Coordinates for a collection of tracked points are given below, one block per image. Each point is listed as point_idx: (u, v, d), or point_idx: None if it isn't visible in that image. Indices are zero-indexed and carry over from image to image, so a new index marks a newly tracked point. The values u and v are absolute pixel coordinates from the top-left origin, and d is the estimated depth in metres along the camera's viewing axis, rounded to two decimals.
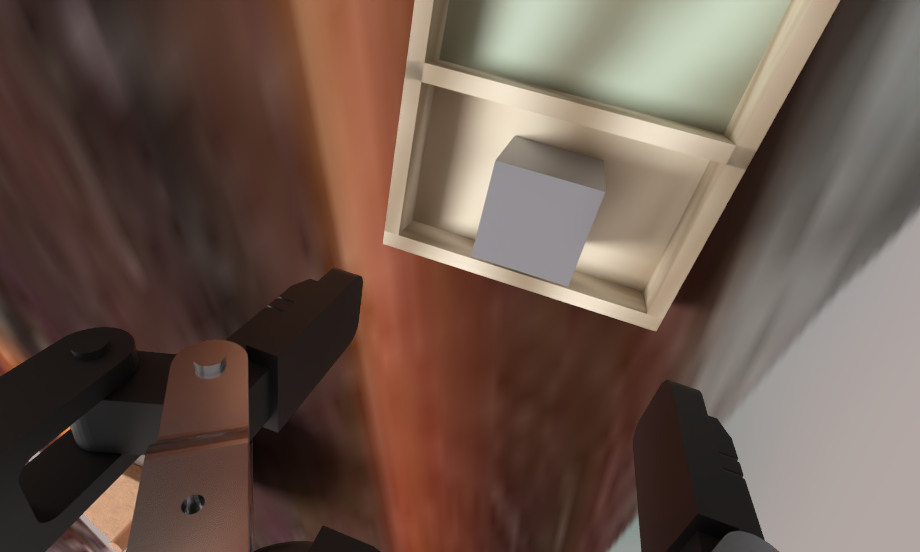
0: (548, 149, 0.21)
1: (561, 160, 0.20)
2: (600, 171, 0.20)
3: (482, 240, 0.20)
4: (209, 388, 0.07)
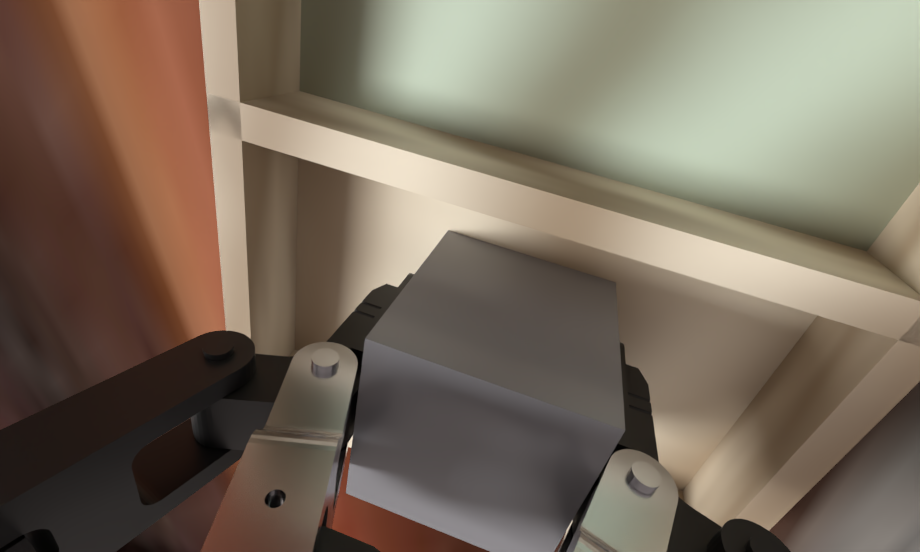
0: (507, 265, 0.11)
1: (529, 302, 0.10)
2: (610, 329, 0.09)
3: (362, 473, 0.10)
4: (318, 387, 0.08)
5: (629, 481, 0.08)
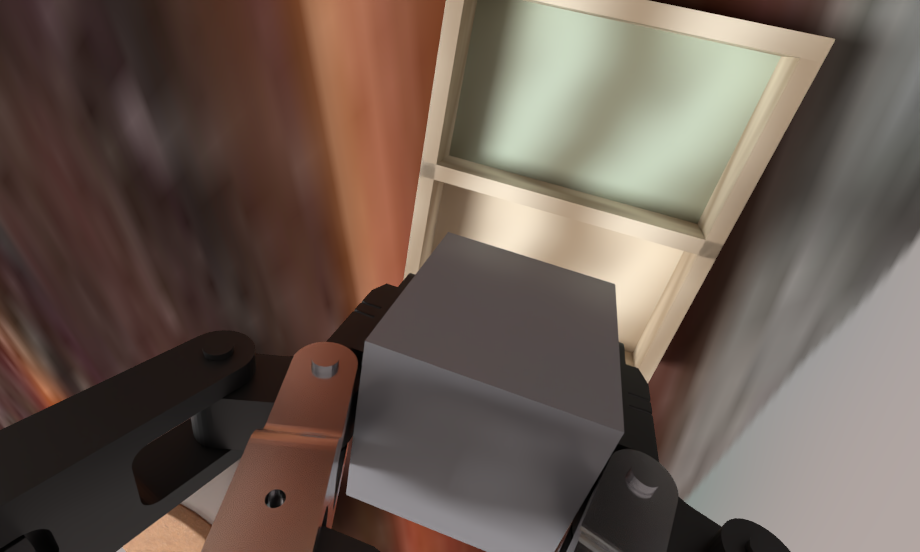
0: (507, 267, 0.11)
1: (528, 304, 0.10)
2: (609, 331, 0.10)
3: (362, 475, 0.10)
4: (318, 387, 0.08)
5: (629, 481, 0.08)
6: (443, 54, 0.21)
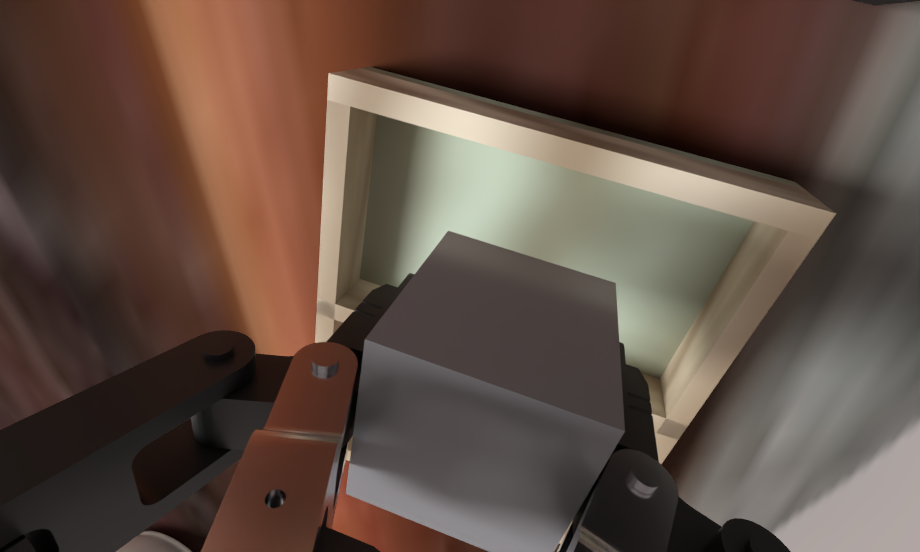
0: (507, 266, 0.11)
1: (529, 303, 0.10)
2: (609, 330, 0.09)
3: (362, 473, 0.10)
4: (318, 387, 0.08)
5: (629, 481, 0.08)
6: (329, 183, 0.16)
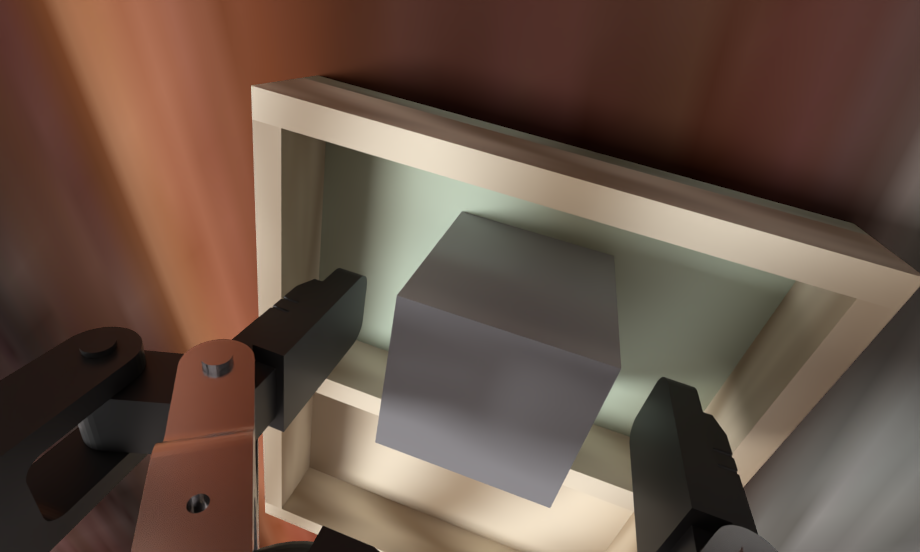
0: (516, 240, 0.12)
1: (536, 270, 0.11)
2: (608, 293, 0.11)
3: (390, 422, 0.11)
4: (216, 387, 0.08)
5: None
6: (263, 222, 0.13)
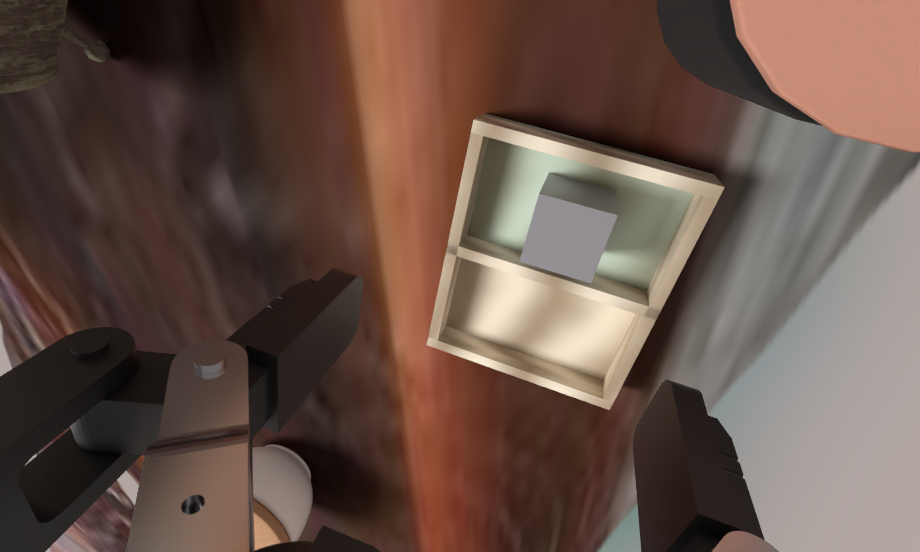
0: (574, 183, 0.29)
1: (585, 191, 0.28)
2: (613, 199, 0.27)
3: (527, 250, 0.27)
4: (209, 388, 0.07)
5: None
6: (465, 176, 0.29)
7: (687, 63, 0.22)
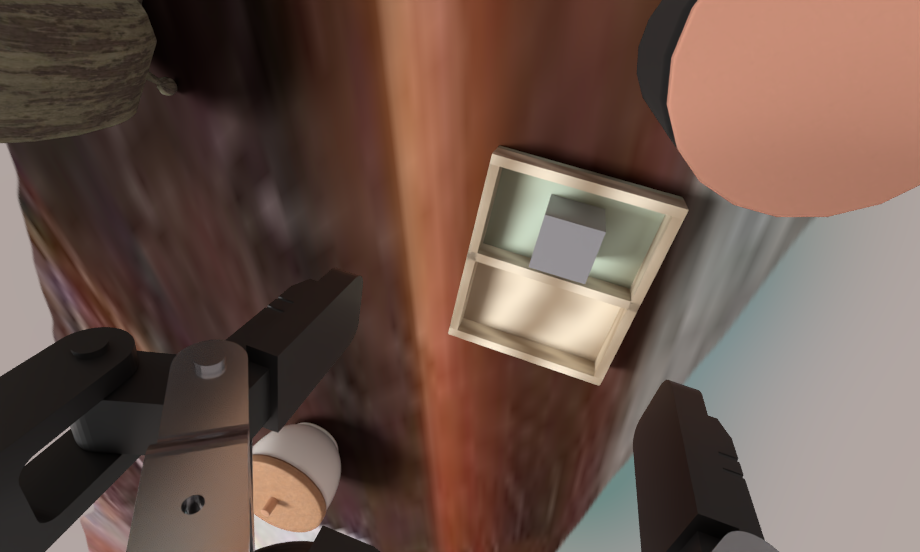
0: (572, 203, 0.36)
1: (580, 211, 0.35)
2: (603, 218, 0.35)
3: (535, 258, 0.35)
4: (209, 388, 0.07)
5: None
6: (484, 197, 0.36)
7: None
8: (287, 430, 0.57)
